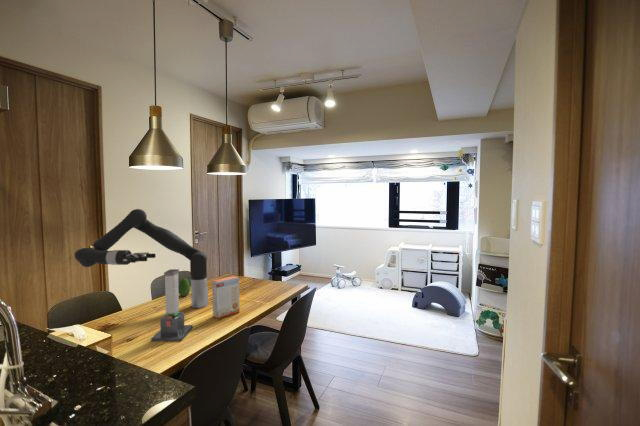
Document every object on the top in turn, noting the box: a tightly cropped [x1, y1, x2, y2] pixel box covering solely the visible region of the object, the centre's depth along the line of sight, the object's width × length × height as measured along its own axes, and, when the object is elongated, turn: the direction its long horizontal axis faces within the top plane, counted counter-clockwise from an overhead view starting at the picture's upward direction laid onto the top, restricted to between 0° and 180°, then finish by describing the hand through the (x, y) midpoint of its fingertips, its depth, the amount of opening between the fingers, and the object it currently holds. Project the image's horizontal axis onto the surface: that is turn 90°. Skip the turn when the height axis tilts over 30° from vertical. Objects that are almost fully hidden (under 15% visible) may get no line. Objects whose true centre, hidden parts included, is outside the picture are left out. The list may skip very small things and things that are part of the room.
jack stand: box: [150, 311, 193, 342], centre depth 149 cm, size 14×14×10 cm
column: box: [163, 269, 180, 317], centre depth 148 cm, size 6×4×24 cm
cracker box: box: [211, 275, 241, 320], centre depth 174 cm, size 14×6×21 cm, turn 134°
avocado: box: [178, 278, 191, 297], centre depth 206 cm, size 8×8×12 cm
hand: (151, 257), depth 158 cm, fingers open, 8 cm apart
